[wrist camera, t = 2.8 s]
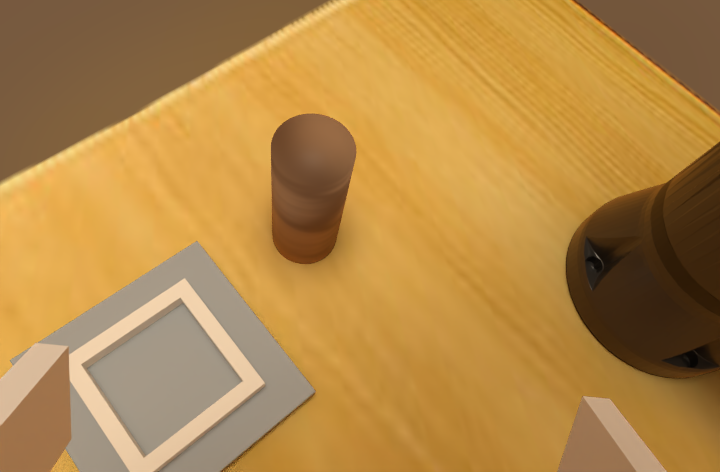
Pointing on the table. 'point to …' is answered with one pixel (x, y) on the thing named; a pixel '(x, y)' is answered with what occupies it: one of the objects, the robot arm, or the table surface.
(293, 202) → the walnut pin
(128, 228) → the table surface
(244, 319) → the board
